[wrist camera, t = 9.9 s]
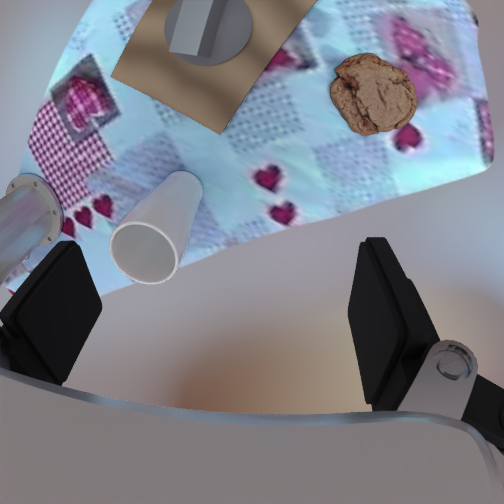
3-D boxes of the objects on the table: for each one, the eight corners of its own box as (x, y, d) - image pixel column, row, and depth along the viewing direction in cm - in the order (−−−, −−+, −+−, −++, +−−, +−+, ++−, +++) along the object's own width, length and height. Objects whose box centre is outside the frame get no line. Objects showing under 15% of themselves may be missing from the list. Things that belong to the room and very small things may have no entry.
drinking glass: (151, 171, 37) (95, 230, 25) (200, 157, 36) (161, 212, 24) (168, 217, 41) (127, 289, 28) (216, 207, 40) (190, 280, 27)
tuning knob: (239, 73, 29) (231, 74, 23) (158, 58, 28) (132, 58, 22) (268, -17, 23) (267, -37, 17) (184, -30, 22) (164, -49, 16)
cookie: (414, 132, 33) (424, 138, 30) (333, 136, 34) (338, 142, 32) (409, 54, 27) (419, 54, 25) (322, 54, 29) (327, 53, 26)
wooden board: (222, 131, 34) (219, 135, 32) (117, 75, 30) (109, 77, 29) (320, -4, 25) (323, -8, 23) (205, -59, 21) (201, -66, 19)
